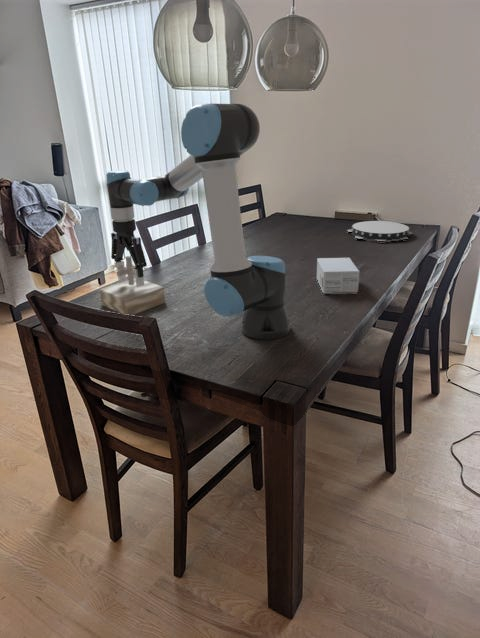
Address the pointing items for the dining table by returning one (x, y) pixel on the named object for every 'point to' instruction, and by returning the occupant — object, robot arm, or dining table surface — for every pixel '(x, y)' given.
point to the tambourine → (380, 230)
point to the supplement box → (337, 275)
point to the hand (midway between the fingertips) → (131, 282)
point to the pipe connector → (127, 270)
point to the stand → (132, 297)
